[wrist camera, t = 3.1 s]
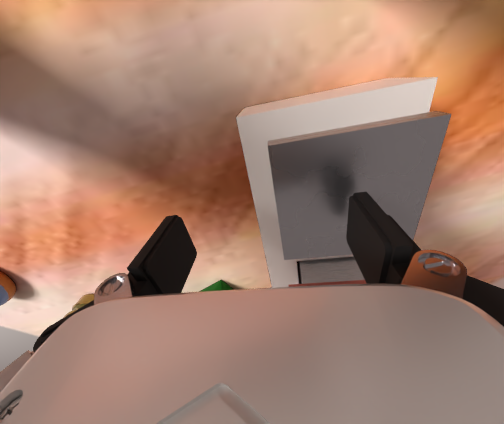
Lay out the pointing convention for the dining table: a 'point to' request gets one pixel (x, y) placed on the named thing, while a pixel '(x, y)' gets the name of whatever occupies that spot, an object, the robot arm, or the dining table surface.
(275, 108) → the white button box
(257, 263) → the dining table surface
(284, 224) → the grey square push button
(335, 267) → the red square push button
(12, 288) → the doughnut
